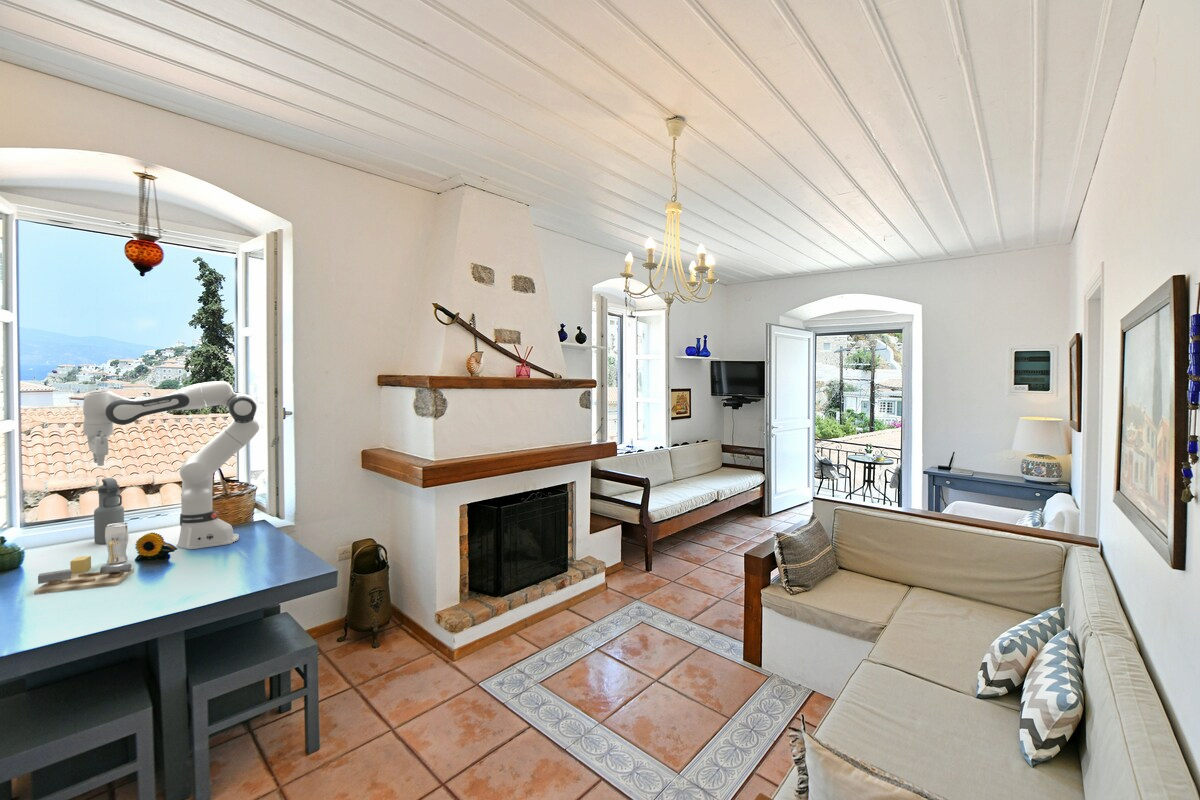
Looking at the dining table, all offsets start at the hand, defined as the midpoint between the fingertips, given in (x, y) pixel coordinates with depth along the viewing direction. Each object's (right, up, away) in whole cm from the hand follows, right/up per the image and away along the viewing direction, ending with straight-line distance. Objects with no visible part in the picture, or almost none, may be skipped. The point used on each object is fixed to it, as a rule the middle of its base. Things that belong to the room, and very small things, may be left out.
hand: (98, 464), depth 212 cm
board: (+19, -40, -24) cm, 50 cm away
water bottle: (-15, -38, +21) cm, 46 cm away
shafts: (+19, -38, -25) cm, 49 cm away
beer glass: (+11, -39, -3) cm, 41 cm away
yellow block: (+7, -39, -14) cm, 42 cm away
